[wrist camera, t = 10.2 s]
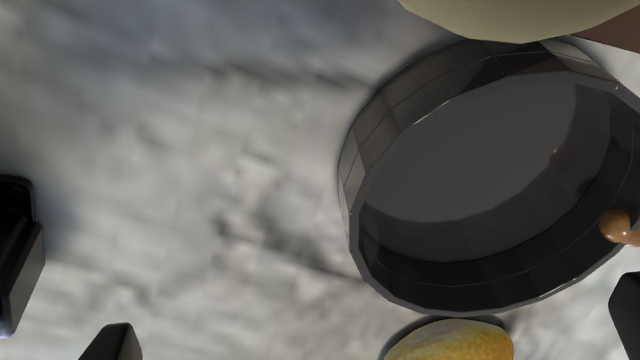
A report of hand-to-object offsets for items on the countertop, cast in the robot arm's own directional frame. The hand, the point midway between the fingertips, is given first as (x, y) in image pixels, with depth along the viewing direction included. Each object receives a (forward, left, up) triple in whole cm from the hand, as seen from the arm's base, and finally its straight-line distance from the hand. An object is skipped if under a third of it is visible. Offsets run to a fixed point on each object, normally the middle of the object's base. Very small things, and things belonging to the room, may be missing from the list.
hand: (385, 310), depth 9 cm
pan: (+9, -4, -12) cm, 16 cm away
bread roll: (+14, -19, -13) cm, 26 cm away
